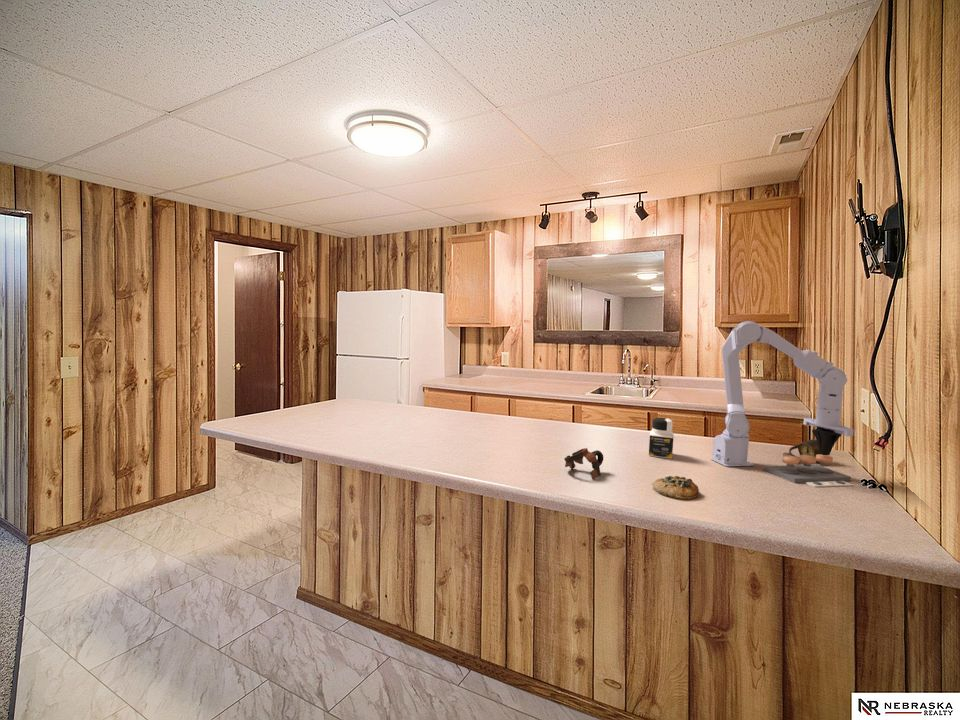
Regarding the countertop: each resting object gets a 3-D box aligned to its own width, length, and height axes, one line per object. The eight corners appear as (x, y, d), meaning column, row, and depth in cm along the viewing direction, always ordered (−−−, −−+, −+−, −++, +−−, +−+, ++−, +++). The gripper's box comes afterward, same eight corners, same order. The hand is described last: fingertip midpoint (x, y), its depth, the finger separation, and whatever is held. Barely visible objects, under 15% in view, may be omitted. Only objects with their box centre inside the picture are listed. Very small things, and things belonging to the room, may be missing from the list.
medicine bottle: (648, 456, 154) (650, 419, 153) (649, 450, 160) (651, 415, 159) (672, 459, 151) (674, 422, 150) (672, 453, 158) (674, 417, 156)
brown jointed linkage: (588, 484, 127) (574, 456, 129) (567, 489, 135) (554, 462, 137) (617, 466, 134) (603, 439, 135) (596, 471, 142) (583, 446, 143)
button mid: (806, 467, 136) (807, 459, 136) (795, 463, 140) (796, 454, 139) (819, 467, 136) (819, 458, 136) (807, 463, 140) (808, 454, 140)
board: (794, 482, 131) (794, 477, 131) (764, 470, 142) (764, 465, 142) (850, 480, 134) (850, 475, 134) (816, 468, 145) (817, 463, 145)
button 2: (823, 467, 137) (824, 458, 136) (811, 463, 141) (812, 454, 140) (835, 467, 137) (836, 458, 137) (823, 462, 141) (824, 454, 141)
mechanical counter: (838, 451, 146) (822, 436, 155) (793, 444, 148) (780, 430, 157) (830, 471, 148) (815, 455, 158) (786, 464, 150) (773, 449, 159)
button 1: (789, 468, 135) (790, 459, 135) (778, 464, 139) (779, 455, 139) (802, 468, 136) (803, 459, 135) (790, 463, 139) (791, 455, 139)
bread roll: (694, 486, 126) (695, 469, 125) (703, 508, 116) (704, 489, 115) (649, 483, 129) (650, 466, 128) (654, 504, 118) (655, 486, 117)
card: (814, 487, 129) (814, 485, 128) (805, 483, 131) (805, 481, 131) (852, 485, 130) (852, 483, 130) (842, 481, 133) (842, 480, 133)
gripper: (864, 413, 131) (859, 461, 132) (819, 403, 145) (815, 447, 146) (842, 413, 130) (838, 462, 131) (799, 403, 144) (795, 447, 145)
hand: (824, 454), depth 139 cm, fingers closed
